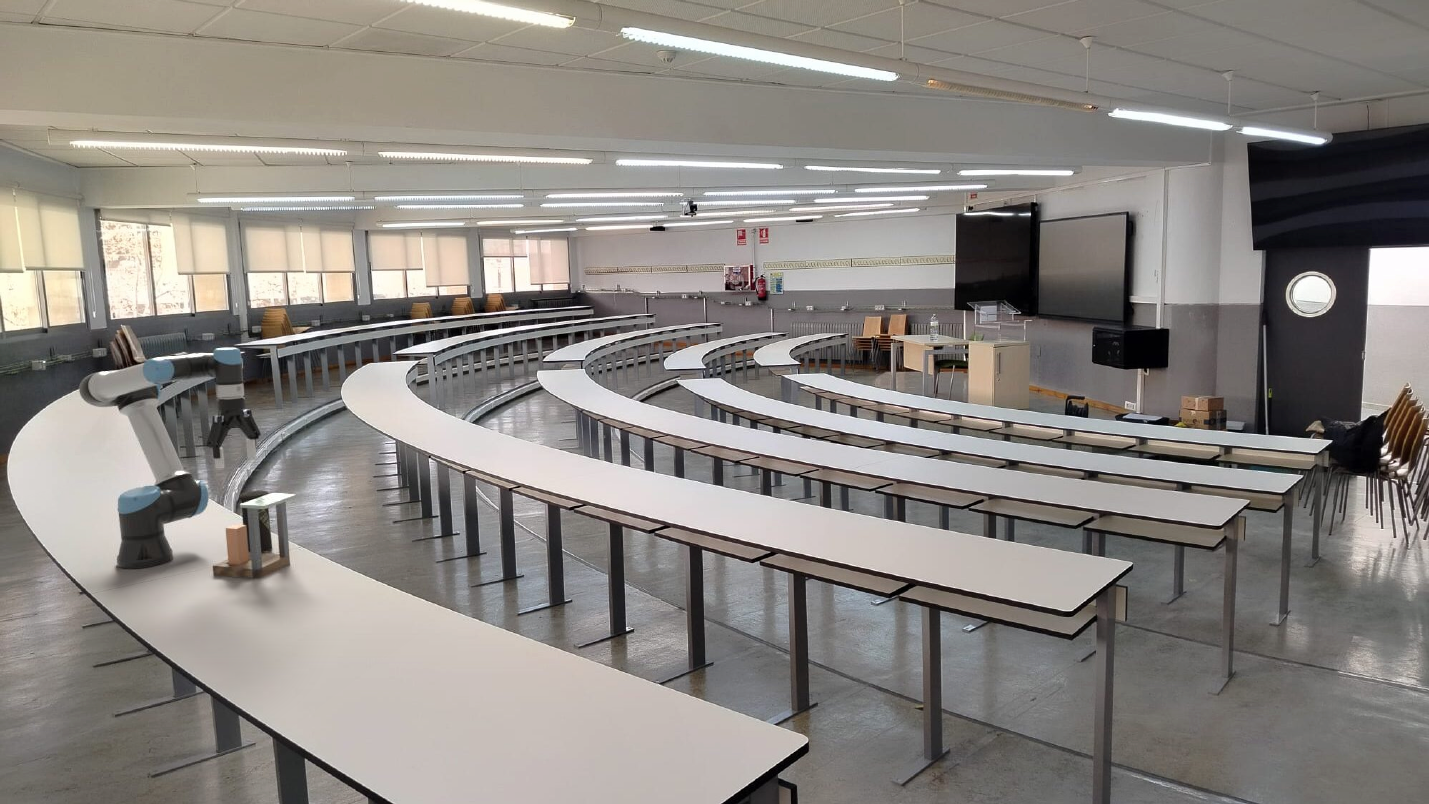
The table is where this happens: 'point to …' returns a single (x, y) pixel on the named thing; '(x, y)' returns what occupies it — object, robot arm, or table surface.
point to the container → (263, 520)
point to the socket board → (245, 570)
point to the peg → (237, 544)
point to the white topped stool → (253, 524)
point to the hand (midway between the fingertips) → (236, 463)
